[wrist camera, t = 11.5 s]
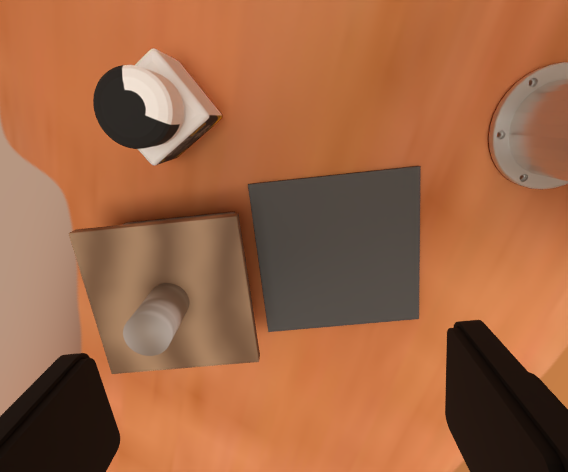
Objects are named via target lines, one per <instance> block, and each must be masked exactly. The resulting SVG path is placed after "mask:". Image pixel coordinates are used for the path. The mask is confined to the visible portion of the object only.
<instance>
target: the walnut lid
mask: <svg viewBox="0 0 568 472" xmlns="http://www.w3.org/2000/svg"><path fill="white" fill-rule="evenodd" d="M69 236H70V240H71V243H72V246H73V249H74V253H75V256H76V259H77V262H78V266H79V269H80V272H81V275H82V279H83V282H84V285H85V288H86V292H87V295H88V298H89V301H90V305H91V308H92V311H93V314H94V318H95V321H96V324H97V327H98V331H99V334H100V337H101V340H102V343H103V347H104V350H105V353H106V356H107V360H108V363H109V366H110V369H111V373H112V374H118V373H130V372H142V371H154V370H166V369H178V368H190V367H202V366H214V365H226V364H238V363H250V362H259V357H260V353H259V346H258V339H257V333H256V326H255V320H254V313H253V307H252V300H251V293H250V287H249V280H248V274H247V267H246V260H245V254H244V247H243V241H242V234H241V228H240V221H239V214H238V213H234V214H224V215H214V216H205V217H195V218H185V219H175V220H166V221H156V222H146V223H136V224H127V225H117V226H107V227H97V228H87V229H78V230H74V231H72V232H70V233H69Z"/></svg>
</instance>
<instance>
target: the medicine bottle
mask: <svg viewBox="0 0 568 472" xmlns="http://www.w3.org/2000/svg"><path fill="white" fill-rule="evenodd" d="M93 101H94V111H95V115H96V118H97V120H98V122H99V124H100V126H101V128H102V129H103V130H104V132H105V133H106V134H107V135H108V136H109V137H110V138H111V139H112V140H114V141H115V142H117V143H118V144H120V145H123V146H125V147H128V148H134V149H138V150H139V151H140V152H141V153H142V154H143V156H144V157H145V158H146V159H147V160H148V161H149V162H150V163H151V164H152V165H158V164H160V163H163V162H166V161H169V160H172V159H175V158H177V157H178V156H179V155H181V154H182V153H183V152H184V151H185V150H186V149H187V148H189V147H190V146H191V145H192V144H193V143H194V142H195V141H197V140H198V139H199V138H200V137H201V136H202V135H203V134H204V133H206V132H207V131H208V130H209V129H210V128H211V127H212V126H214V125H215V124H216V123H217V122H218V121H219V120H220V119H221V118H222V114H221V113H220V112H219V110H218V109H217V108H216V107H215V105H214V104H213V103H212V102H211V101H210V99H209V98H208V97H207V96H206V94H205V93H204V92H203V91H202V89H201V88H200V87H199V86H198V84H197V83H196V82H195V81H194V79H193V78H192V77H191V76H190V74H189V73H188V72H187V71H186V69H185V68H184V67H183V66H182V65H181V63H180V62H179V61H178V60H176V59H174V58H172V57H170V56H168V55H166V54H164V53H162V52H161V51H159V50H157V49H154V48H152V49H150V50H149V51H148V52H147V53H146V54H145V55H144V56H143V57H142V58H141V59H140V60H139V61H138V62H137V63H136V64H135V65H134V66H133V65H122V66H118V67H115V68H113V69H111V70H109V71H108V72H107V73H105V74H104V75H103V76H102V78H101V79H100V80H99V82H98V84H97V86H96V89H95V92H94V100H93Z"/></svg>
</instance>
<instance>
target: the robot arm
mask: <svg viewBox="0 0 568 472" xmlns="http://www.w3.org/2000/svg"><path fill="white" fill-rule="evenodd" d="M529 82H530V84H529ZM497 133H498V134H499V135H498V136H497ZM489 149H490V153H491V156H492V160H493V162H494V163H495V165H496V167H497V169H498V170H499V171H500V172H501V173H502V175H503V176H504V177H506V178H507V179H509V180H510V181H511V182H513V183H516V184H518V185H521V186H524V187H528V188H531V189H552V188H556V187H560V186H563V185H566V184H568V62H563V63H557V64H552V65H548V66H545V67H542V68H539V69H537V70H535V71H533V72H531V73H529V74H527V75H526V76H524V77H523V78H522V79H520V80H519V81H518V82H516V83H515V84H514V85H513V86H512V88H511V89H510V90H509V91H508V92H507V93H506V94H505V96H504V97H503V98H502V100H501V101H500V103H499V105H498V107H497V109H496V111H495V113H494V115H493V118H492V122H491V125H490V131H489ZM520 176H521V177H520ZM445 415H446V420H447V424H448V427H449V429H450V431H451V433H452V435H453V438H454V440H455V442H456V444H457V446H458V448H459V450H460V452H461V454H462V456H463V458H464V460H465V462H466V464H467V466H468V468H469V470H470V472H568V409H567V408H566V407H565V406H564V405H563V404H562V403H561V402H560V401H559V400H558V398H557V397H556V396H555V395H554V394H553V393H552V392H551V391H550V390H549V389H548V388H547V386H546V385H545V384H544V383H543V382H542V381H541V380H540V379H539V378H538V377H537V376H535V375H534V374H532V373H529V372H528V371H527V370H526V369H525V368H524V367H523V366H522V365H521V364H520V363H519V361H518V360H517V359H516V358H515V357H514V356H513V355H512V354H511V353H510V351H509V350H508V349H507V348H506V347H505V346H504V345H503V344H502V343H501V341H500V340H499V339H498V338H497V337H496V336H495V335H494V334H493V333H492V332H491V330H490V329H489V328H488V327H487V326H486V325H485V324H484V323H483V322H482V321H481V320H472V321H460V322H456V323H455V324H454V328H449V329H448V331H447V360H446V405H445ZM119 444H120V434H119V430H118V428H117V425H116V422H115V419H114V416H113V413H112V410H111V407H110V404H109V401H108V398H107V395H106V392H105V389H104V386H103V383H102V380H101V377H100V374H99V371H98V368H97V366H96V363H95V361H94V360H93V359H92V358H90V357H89V356H88V355H87V354H85V353H80V354H68V355H62V356H60V357H59V358H58V359H57V360H56V361H55V362H54V363H53V364H52V365H51V366H50V367H49V368H48V369H47V370H46V371H45V372H44V373H43V374H42V375H41V376H40V377H39V378H38V379H37V380H36V381H35V382H34V383H33V384H32V385H31V386H30V387H29V388H28V389H27V390H26V391H25V392H24V393H23V394H22V395H21V396H20V397H19V398H18V399H17V400H16V401H15V402H14V403H13V404H12V405H11V406H10V407H9V408H8V409H7V410H6V411H5V412H4V413H3V414H2V415H1V417H0V472H106V470H107V469H108V467H109V465H110V463H111V461H112V459H113V457H114V456H115V454H116V452H117V450H118V448H119Z"/></svg>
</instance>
